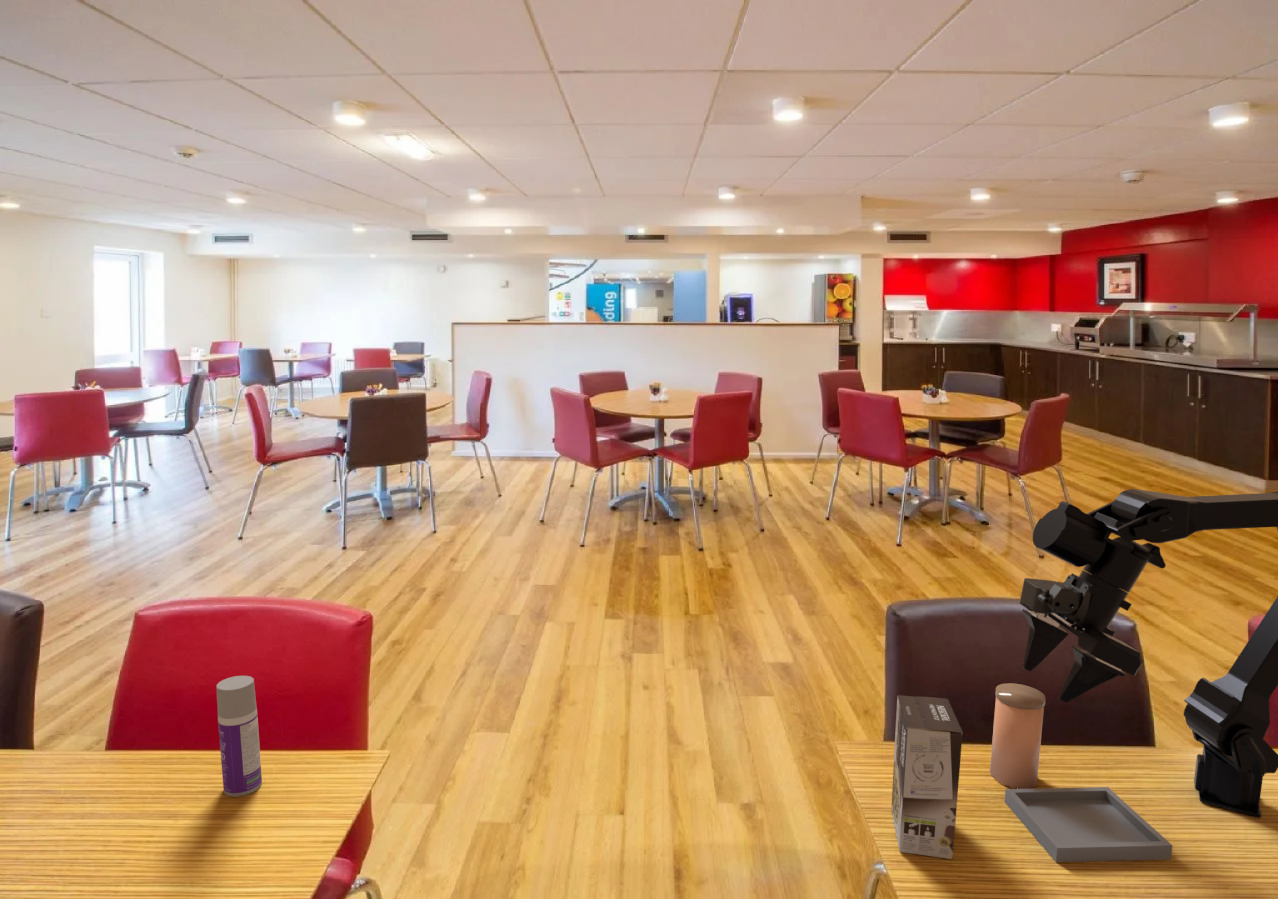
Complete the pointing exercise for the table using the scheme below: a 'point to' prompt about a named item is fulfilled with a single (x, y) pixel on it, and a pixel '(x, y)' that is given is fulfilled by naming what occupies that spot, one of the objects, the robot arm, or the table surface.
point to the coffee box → (926, 775)
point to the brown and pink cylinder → (1017, 735)
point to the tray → (1086, 825)
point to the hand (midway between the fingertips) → (1043, 684)
